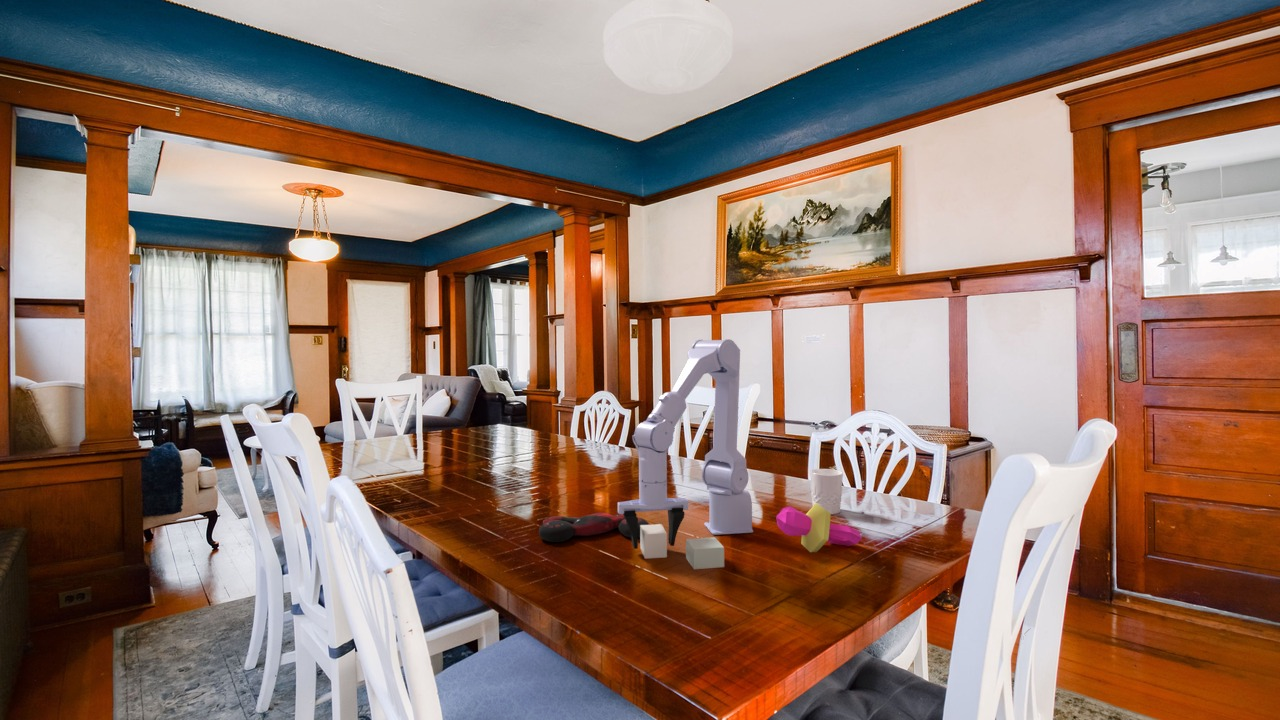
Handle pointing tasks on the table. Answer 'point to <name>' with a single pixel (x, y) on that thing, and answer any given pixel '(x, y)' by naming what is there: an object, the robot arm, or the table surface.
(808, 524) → the toy
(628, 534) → the toy motorcycle
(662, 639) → the table surface
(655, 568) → the table surface
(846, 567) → the table surface
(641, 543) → the cream brick
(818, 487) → the white cup
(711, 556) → the sage base brick
